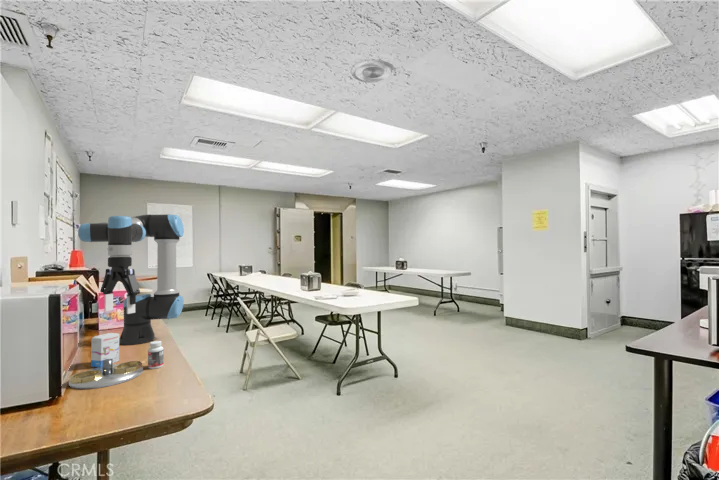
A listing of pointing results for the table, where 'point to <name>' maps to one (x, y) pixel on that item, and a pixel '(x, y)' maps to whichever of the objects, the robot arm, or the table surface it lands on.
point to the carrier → (106, 375)
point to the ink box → (104, 349)
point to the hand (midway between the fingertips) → (119, 312)
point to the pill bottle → (155, 355)
